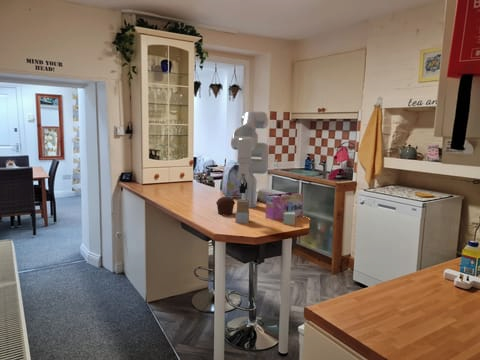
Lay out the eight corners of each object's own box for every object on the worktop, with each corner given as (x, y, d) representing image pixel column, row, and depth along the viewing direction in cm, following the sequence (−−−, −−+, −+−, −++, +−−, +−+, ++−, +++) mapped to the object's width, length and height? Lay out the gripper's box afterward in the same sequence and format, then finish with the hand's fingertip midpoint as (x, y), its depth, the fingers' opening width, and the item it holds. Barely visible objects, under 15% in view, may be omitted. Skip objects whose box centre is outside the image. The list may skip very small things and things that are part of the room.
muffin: (222, 216, 212) (222, 199, 210) (212, 212, 221) (212, 196, 219) (238, 214, 219) (239, 197, 217) (228, 210, 228) (228, 194, 226)
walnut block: (238, 209, 205) (238, 199, 204) (248, 210, 204) (249, 199, 204) (236, 212, 199) (237, 201, 198) (247, 212, 199) (248, 202, 198)
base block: (236, 219, 207) (237, 209, 206) (248, 220, 206) (249, 210, 205) (235, 222, 200) (235, 212, 199) (247, 223, 199) (248, 212, 198)
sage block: (283, 221, 205) (283, 211, 204) (294, 222, 205) (294, 211, 204) (283, 224, 199) (284, 213, 198) (294, 225, 199) (295, 214, 198)
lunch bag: (248, 198, 267) (249, 162, 263) (226, 198, 263) (226, 162, 259) (241, 192, 289) (242, 159, 285) (220, 193, 285) (221, 159, 281)
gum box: (295, 213, 226) (296, 191, 224) (304, 216, 220) (305, 194, 218) (265, 217, 213) (266, 194, 211) (273, 220, 207) (274, 197, 205)
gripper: (239, 158, 207) (238, 187, 210) (235, 162, 190) (234, 194, 193) (252, 159, 206) (251, 188, 209) (249, 163, 189) (248, 194, 192)
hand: (243, 191), depth 201 cm, fingers open, 9 cm apart
